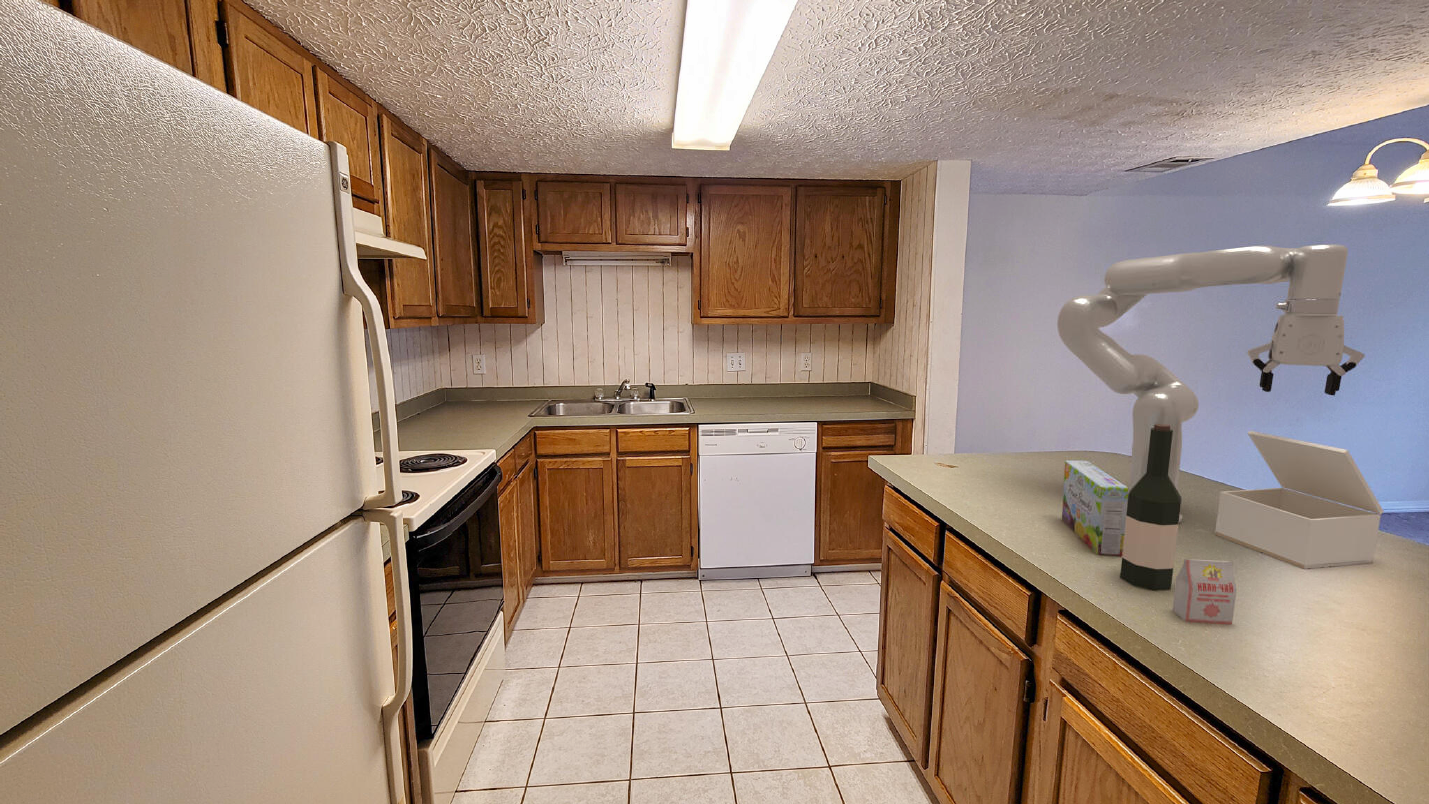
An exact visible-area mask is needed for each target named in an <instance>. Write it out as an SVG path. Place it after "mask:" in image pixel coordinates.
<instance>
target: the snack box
mask: <svg viewBox="0 0 1429 804" xmlns="http://www.w3.org/2000/svg"><path fill="white" fill-rule="evenodd" d="M1128 487H1129V486H1126V485H1125V484H1123V483H1121V482H1120V481H1118V480H1117V479H1116V478H1114V477H1112V476H1111V475H1110V474H1108V473H1106V472H1105V471H1103V470H1102V469H1100V468H1099V467H1098V466H1096V465H1094V464H1093V463H1091V462H1089V460H1064V475H1063V492H1062V509H1061V511H1062V512H1061V520H1062V521H1063V522H1064V523H1065V524H1066V525H1067V526H1068V527H1069V528H1070V529H1071V530H1072V531H1073V532H1074V533H1075V534H1076V535H1077V536H1078V537H1079V538H1080V539H1081V540H1082V541H1083V543H1085V544H1086V545H1087V546H1088V547H1089V549H1090V550H1092V552H1094V554H1096V555H1098V556H1101V555H1102V556H1116V557H1117V556H1119V557H1120V556H1121V557H1122V553H1123V543H1124V534H1125V524H1126V513H1127V501H1128V490H1129V488H1128Z"/></svg>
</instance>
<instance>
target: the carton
mask: <svg viewBox="0 0 1429 804" xmlns="http://www.w3.org/2000/svg"><path fill="white" fill-rule="evenodd" d="M1218 499H1219V500H1218V507H1217V515H1216V516H1217V517H1216V524H1215V532H1214V535H1215V536H1217V537H1219V538H1223V539H1225V540H1227V541H1230V542H1233V543H1236V544H1238V545H1241V546H1243V547H1246V548H1248V549H1252V550H1253V551H1256V550H1257V552H1259V553H1261V552H1263V553H1262V554H1263V555H1267V556H1269V557H1272V558H1274V559H1277V560H1279V561H1282V562H1285V563H1288V564H1290V565H1292V566H1295V567H1296V568H1297V567H1298V568H1301V569H1303V570H1307V569H1308V568H1311V569H1321V567H1323V568H1330V567H1329V566H1334V567H1343V566H1354V565H1355V566H1356V565H1364V564H1373V562H1374V556H1375V553H1376V552H1375V550H1376V546H1377V539H1378V533H1379V527H1380V521H1381V515H1382V514H1377V513H1374V512H1370V511H1366V510H1363V509H1359V508H1355V507H1352V506H1348V505H1345V504H1341V503H1337V502H1334V501H1330V500H1326V499H1323V498H1319V497H1315V496H1312V495H1308V494H1304V493H1301V492H1297V491H1294V490H1290V489H1286V488H1283V487H1272V488H1259V489H1258V488H1257V489H1244V490H1243V489H1242V490H1241V489H1240V490H1227V491H1220V492H1219V498H1218ZM1308 570H1309V569H1308Z"/></svg>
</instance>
